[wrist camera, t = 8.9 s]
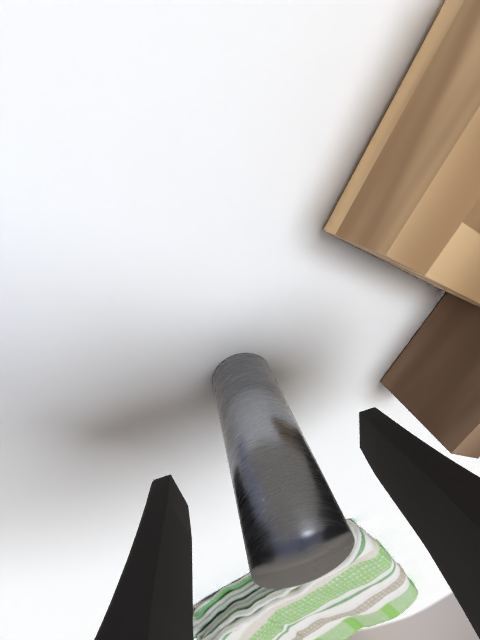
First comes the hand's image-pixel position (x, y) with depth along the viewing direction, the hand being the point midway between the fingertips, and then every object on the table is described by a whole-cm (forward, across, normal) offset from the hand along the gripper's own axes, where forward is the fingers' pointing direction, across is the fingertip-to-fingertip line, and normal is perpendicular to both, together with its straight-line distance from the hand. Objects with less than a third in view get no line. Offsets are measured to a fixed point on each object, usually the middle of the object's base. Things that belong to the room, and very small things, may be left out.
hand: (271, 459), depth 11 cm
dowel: (+5, 0, 0) cm, 5 cm away
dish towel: (+6, -2, +31) cm, 31 cm away
